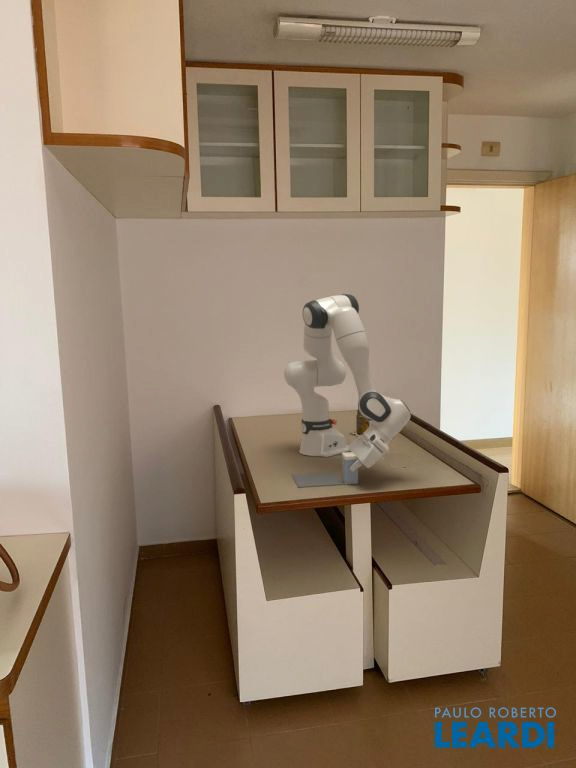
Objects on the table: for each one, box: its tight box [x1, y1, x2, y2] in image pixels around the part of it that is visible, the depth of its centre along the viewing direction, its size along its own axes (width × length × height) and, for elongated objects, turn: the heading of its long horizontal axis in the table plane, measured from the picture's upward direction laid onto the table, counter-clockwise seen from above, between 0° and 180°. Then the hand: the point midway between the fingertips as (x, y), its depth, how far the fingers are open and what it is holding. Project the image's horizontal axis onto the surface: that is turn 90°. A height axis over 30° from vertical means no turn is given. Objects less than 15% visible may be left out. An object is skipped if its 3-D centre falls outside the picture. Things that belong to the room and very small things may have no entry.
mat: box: [291, 471, 344, 489], centre depth 212 cm, size 16×14×1 cm
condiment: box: [355, 409, 370, 435], centre depth 276 cm, size 7×8×12 cm
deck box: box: [341, 451, 359, 485], centre depth 208 cm, size 5×5×10 cm
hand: (348, 467), depth 208 cm, fingers closed on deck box, 5 cm apart
